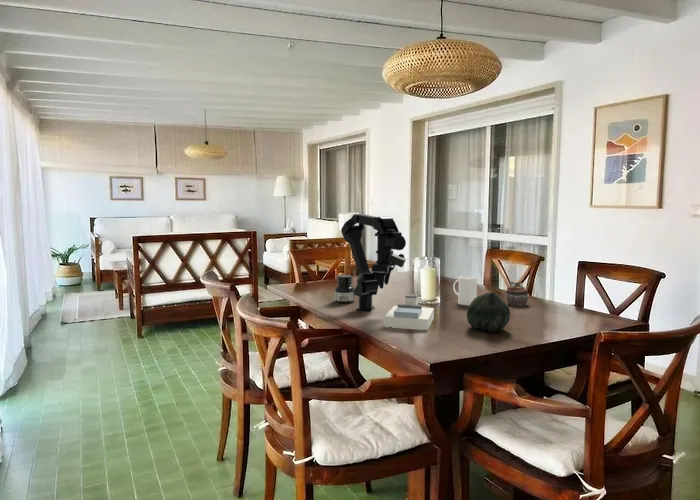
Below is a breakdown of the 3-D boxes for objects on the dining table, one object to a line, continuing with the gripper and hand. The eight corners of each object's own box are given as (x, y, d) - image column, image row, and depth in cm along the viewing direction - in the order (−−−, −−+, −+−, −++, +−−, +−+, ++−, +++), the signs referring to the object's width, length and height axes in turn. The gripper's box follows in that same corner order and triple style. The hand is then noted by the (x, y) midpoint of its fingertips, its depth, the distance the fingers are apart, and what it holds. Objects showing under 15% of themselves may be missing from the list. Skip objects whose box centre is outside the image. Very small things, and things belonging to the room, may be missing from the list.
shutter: (398, 311, 191) (398, 304, 191) (421, 313, 189) (421, 305, 188) (393, 316, 183) (393, 308, 183) (418, 318, 180) (418, 310, 180)
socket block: (394, 315, 202) (394, 305, 202) (433, 318, 198) (434, 308, 197) (384, 327, 184) (384, 316, 184) (427, 330, 180) (427, 319, 179)
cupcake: (510, 306, 219) (511, 284, 218) (503, 302, 228) (503, 280, 227) (532, 306, 219) (532, 284, 218) (523, 301, 229) (524, 280, 228)
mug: (448, 302, 228) (448, 276, 227) (459, 299, 233) (460, 274, 232) (469, 306, 219) (469, 279, 218) (480, 303, 224) (481, 277, 223)
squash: (471, 307, 192) (469, 283, 182) (511, 312, 187) (512, 287, 176) (465, 338, 184) (463, 314, 173) (507, 344, 178) (508, 320, 168)
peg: (407, 318, 197) (407, 293, 196) (417, 319, 196) (418, 294, 195) (405, 320, 193) (405, 295, 192) (416, 321, 192) (416, 296, 191)
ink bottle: (332, 303, 225) (332, 277, 224) (336, 299, 234) (336, 274, 232) (353, 304, 223) (353, 277, 222) (356, 300, 232) (356, 274, 231)
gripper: (400, 251, 188) (399, 291, 190) (408, 246, 206) (407, 283, 207) (371, 250, 191) (371, 290, 193) (381, 245, 209) (381, 282, 210)
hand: (384, 286), depth 201 cm, fingers open, 9 cm apart
